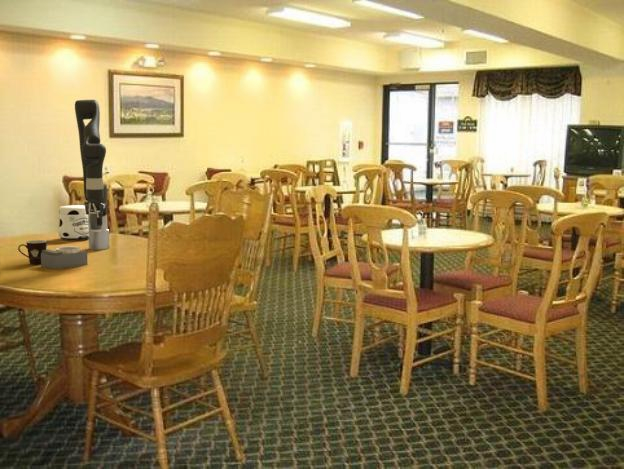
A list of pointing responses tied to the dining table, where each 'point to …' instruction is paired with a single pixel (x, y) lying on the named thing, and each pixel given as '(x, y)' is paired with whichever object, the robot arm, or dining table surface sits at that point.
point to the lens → (94, 222)
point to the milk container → (73, 223)
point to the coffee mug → (34, 250)
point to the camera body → (63, 258)
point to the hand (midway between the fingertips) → (96, 224)
